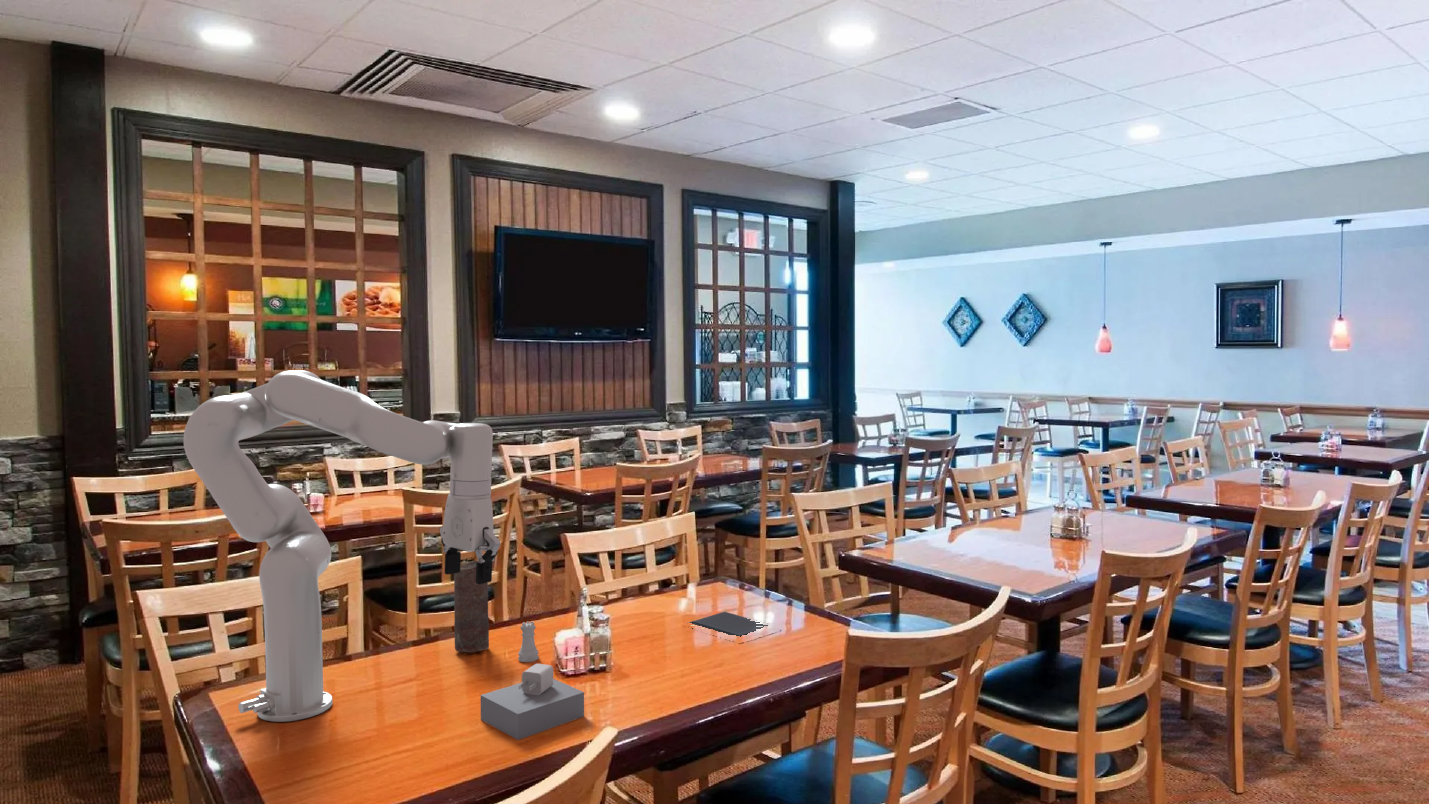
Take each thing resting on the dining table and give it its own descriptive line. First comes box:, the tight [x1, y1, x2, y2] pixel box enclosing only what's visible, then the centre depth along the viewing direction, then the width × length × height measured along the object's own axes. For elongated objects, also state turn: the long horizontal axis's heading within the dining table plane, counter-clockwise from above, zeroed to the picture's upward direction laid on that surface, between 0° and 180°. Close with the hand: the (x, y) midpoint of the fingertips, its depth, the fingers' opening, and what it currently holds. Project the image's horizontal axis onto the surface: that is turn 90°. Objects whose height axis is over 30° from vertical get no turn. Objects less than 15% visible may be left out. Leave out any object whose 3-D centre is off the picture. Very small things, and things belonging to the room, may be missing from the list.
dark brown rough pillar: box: [453, 560, 490, 654], centre depth 196 cm, size 8×7×20 cm
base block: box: [480, 678, 585, 741], centre depth 161 cm, size 14×12×5 cm
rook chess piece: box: [517, 620, 540, 664], centre depth 191 cm, size 4×4×8 cm
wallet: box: [688, 611, 768, 637], centre depth 214 cm, size 20×2×15 cm
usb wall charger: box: [519, 663, 554, 695], centre depth 161 cm, size 4×7×4 cm, turn 162°
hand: (467, 577), depth 169 cm, fingers open, 9 cm apart
